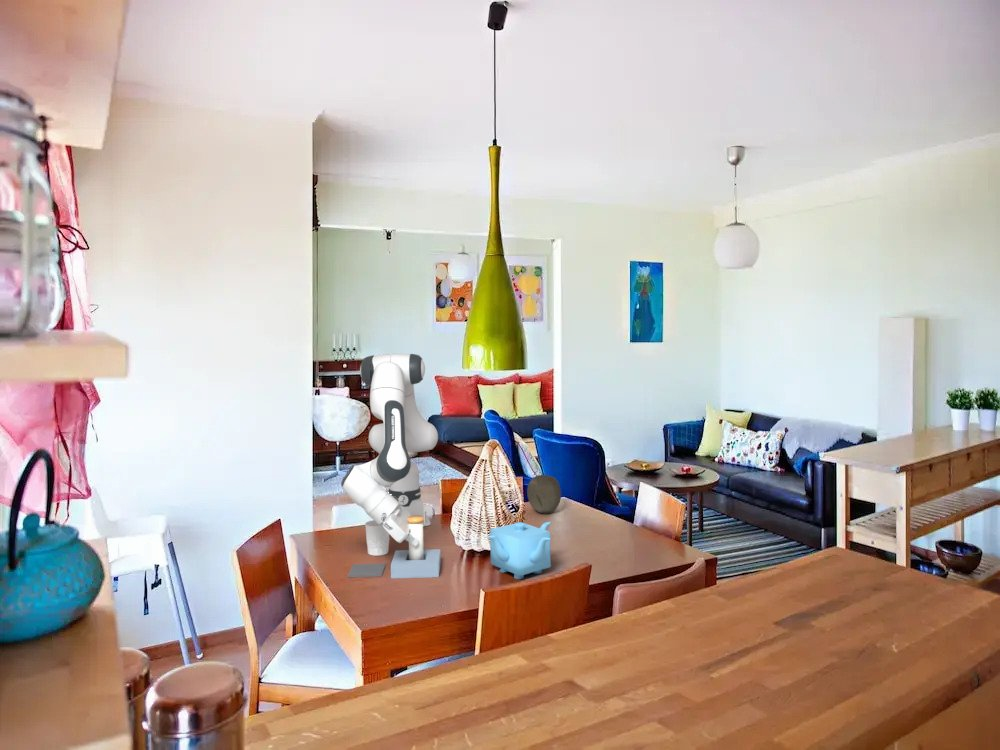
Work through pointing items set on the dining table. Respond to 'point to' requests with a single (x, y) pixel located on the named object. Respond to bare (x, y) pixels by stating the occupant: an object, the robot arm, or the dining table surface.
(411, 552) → the plug
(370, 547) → the white cup
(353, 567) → the mat
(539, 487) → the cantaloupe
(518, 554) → the teakettle
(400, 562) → the socket
